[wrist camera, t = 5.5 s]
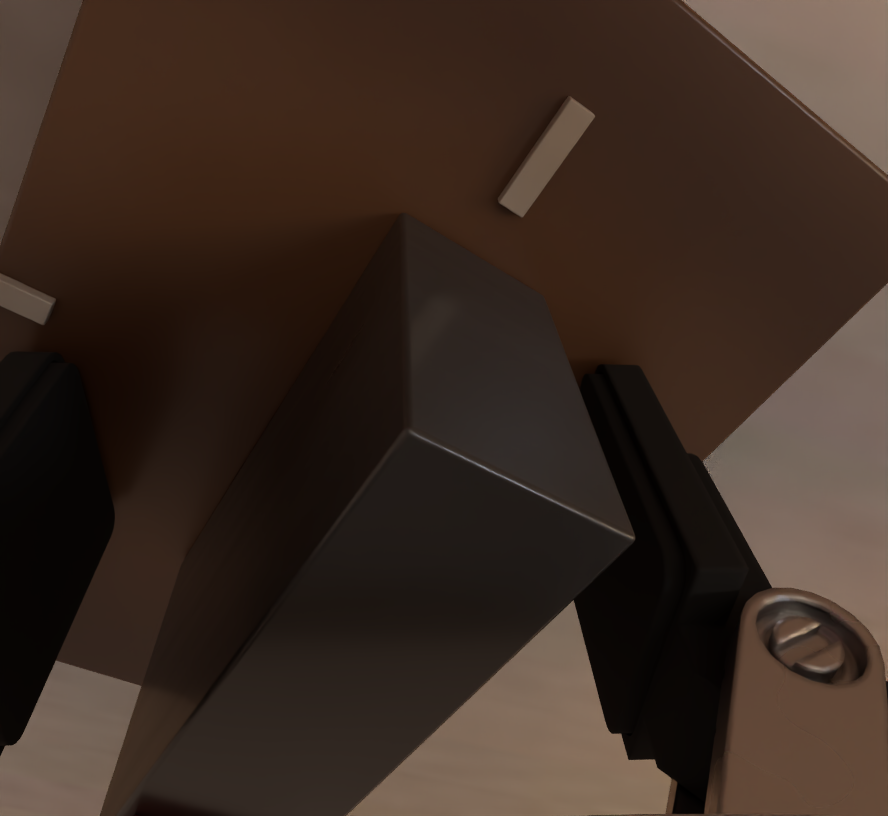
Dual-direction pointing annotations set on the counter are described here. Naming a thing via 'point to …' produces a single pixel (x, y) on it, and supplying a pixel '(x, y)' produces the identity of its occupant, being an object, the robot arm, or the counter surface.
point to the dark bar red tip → (375, 547)
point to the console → (422, 197)
